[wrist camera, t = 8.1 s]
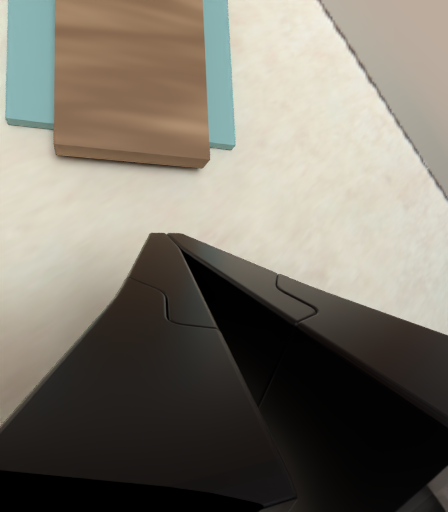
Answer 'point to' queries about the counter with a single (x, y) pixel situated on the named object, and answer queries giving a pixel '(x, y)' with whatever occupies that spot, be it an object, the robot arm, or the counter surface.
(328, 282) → the counter surface
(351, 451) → the robot arm
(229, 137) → the mat
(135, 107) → the walnut tile
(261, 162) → the counter surface
